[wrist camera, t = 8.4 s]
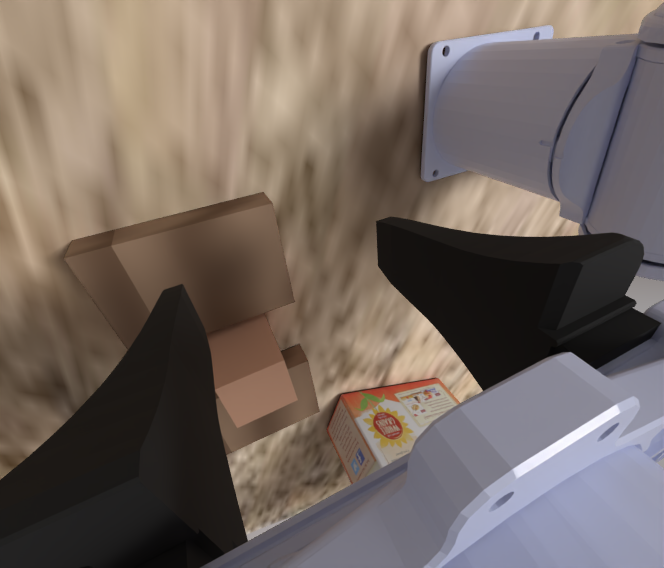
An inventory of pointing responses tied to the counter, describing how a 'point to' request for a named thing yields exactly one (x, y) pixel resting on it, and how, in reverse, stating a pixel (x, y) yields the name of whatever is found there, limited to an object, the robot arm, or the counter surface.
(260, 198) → the notched board
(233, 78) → the counter surface
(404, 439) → the cracker box
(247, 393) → the terracotta plug
